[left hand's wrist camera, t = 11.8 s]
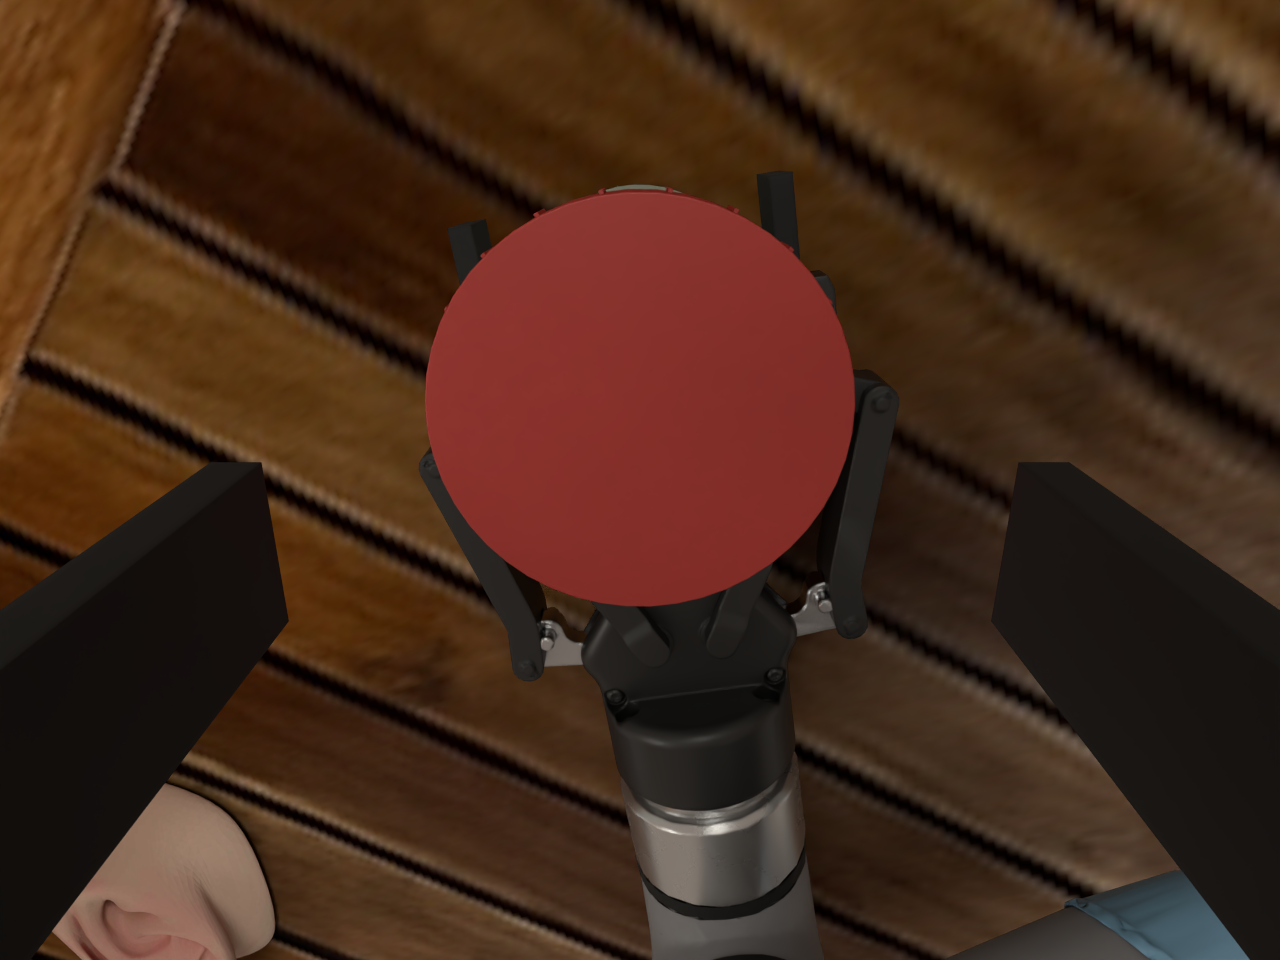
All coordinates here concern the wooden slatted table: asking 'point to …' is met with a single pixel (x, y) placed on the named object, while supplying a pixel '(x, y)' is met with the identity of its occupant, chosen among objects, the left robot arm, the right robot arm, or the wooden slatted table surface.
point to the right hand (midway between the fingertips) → (618, 198)
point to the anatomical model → (174, 889)
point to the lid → (640, 398)
